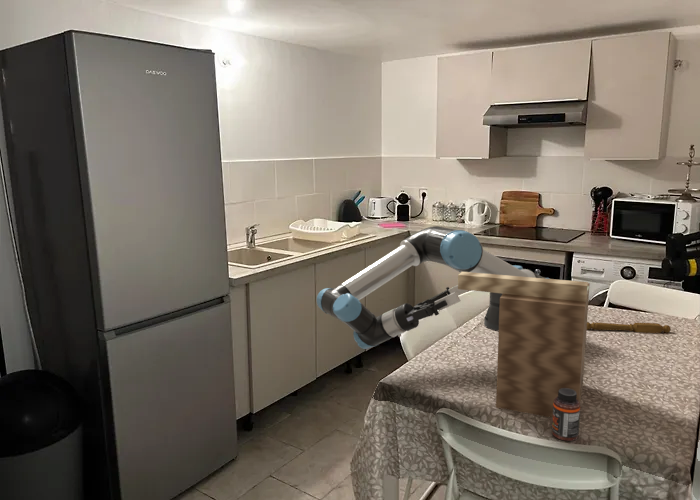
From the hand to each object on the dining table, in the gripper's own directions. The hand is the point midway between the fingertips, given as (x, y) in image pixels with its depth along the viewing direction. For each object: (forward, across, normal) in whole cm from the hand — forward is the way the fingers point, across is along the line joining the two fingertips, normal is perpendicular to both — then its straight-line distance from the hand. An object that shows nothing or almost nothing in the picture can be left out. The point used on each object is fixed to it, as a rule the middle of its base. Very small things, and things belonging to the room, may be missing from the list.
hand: (464, 290), depth 150 cm
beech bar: (+13, -1, -7) cm, 15 cm away
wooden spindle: (+21, -74, -47) cm, 90 cm away
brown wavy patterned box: (+3, -6, -36) cm, 36 cm away
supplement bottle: (+10, +14, -40) cm, 43 cm away
